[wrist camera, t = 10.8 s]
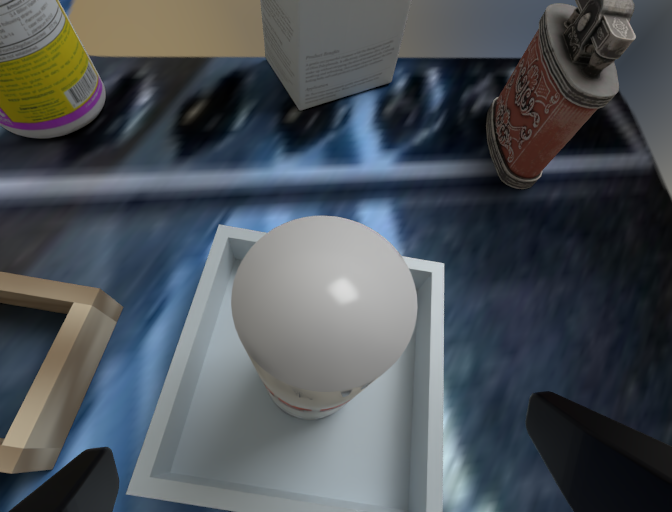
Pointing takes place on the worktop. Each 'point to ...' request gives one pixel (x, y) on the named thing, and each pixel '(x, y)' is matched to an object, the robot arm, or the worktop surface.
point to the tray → (289, 432)
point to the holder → (56, 367)
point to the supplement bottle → (44, 72)
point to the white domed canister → (322, 312)
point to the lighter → (557, 86)
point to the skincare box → (332, 45)
